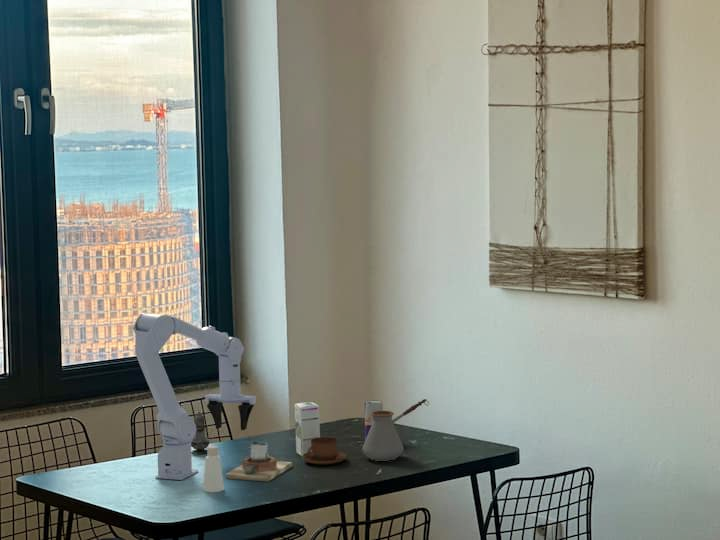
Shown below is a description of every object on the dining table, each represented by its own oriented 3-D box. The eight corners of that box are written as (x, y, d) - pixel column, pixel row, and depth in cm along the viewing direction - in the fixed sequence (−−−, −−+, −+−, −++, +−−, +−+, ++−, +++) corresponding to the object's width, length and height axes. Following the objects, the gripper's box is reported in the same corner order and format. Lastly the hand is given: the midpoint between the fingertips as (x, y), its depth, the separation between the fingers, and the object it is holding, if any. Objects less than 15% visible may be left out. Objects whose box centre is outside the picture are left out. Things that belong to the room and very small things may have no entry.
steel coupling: (270, 467, 303) (270, 441, 302) (261, 470, 299) (261, 444, 298) (257, 465, 305) (256, 439, 304) (247, 468, 301) (247, 443, 300)
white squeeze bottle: (209, 493, 282) (208, 450, 281) (198, 489, 286) (197, 446, 285) (228, 490, 285) (227, 447, 284) (217, 485, 289) (216, 443, 288)
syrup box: (321, 455, 319) (320, 404, 318) (301, 457, 317) (300, 406, 316) (314, 451, 325) (313, 401, 324) (295, 453, 323) (293, 403, 322)
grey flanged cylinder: (200, 455, 322) (198, 414, 321) (185, 453, 325) (184, 412, 324) (214, 451, 326) (213, 410, 325) (200, 449, 330) (199, 408, 329)
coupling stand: (267, 481, 293) (267, 468, 292) (225, 478, 297) (225, 465, 296) (292, 466, 308) (291, 454, 307) (251, 463, 312) (251, 451, 311)
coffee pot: (377, 465, 307) (376, 411, 306) (354, 457, 316) (353, 404, 315) (440, 454, 318) (439, 401, 317) (416, 446, 328) (415, 395, 327)
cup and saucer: (334, 469, 305) (334, 446, 304) (295, 465, 310) (294, 443, 309) (353, 459, 315) (353, 437, 315) (315, 455, 320) (314, 434, 320)
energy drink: (362, 440, 337) (362, 400, 336) (380, 439, 339) (379, 399, 338) (368, 444, 332) (367, 403, 331) (385, 442, 334) (385, 402, 333)
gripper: (260, 378, 313) (261, 427, 314) (212, 376, 318) (214, 424, 319) (249, 383, 307) (250, 432, 308) (201, 380, 311) (202, 429, 312)
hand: (231, 428), depth 313 cm, fingers open, 7 cm apart
